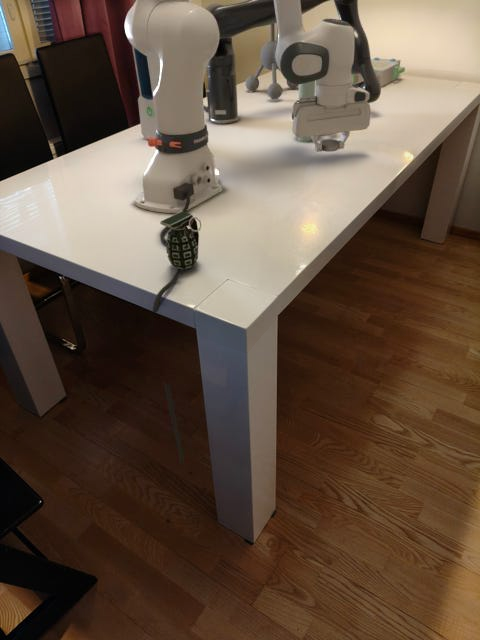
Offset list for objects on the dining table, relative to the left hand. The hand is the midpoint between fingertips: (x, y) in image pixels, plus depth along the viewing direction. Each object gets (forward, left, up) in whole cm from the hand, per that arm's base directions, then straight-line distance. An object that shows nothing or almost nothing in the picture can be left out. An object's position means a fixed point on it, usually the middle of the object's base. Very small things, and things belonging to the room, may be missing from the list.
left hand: (329, 149), depth 130 cm
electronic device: (+1, +54, -3) cm, 54 cm away
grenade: (-62, +8, -3) cm, 63 cm away
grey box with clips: (+91, +10, -3) cm, 91 cm away
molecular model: (+64, +41, -3) cm, 76 cm away
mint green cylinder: (+14, +12, -3) cm, 18 cm away
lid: (0, 0, +2) cm, 2 cm away
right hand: (+11, +13, +4) cm, 17 cm away
